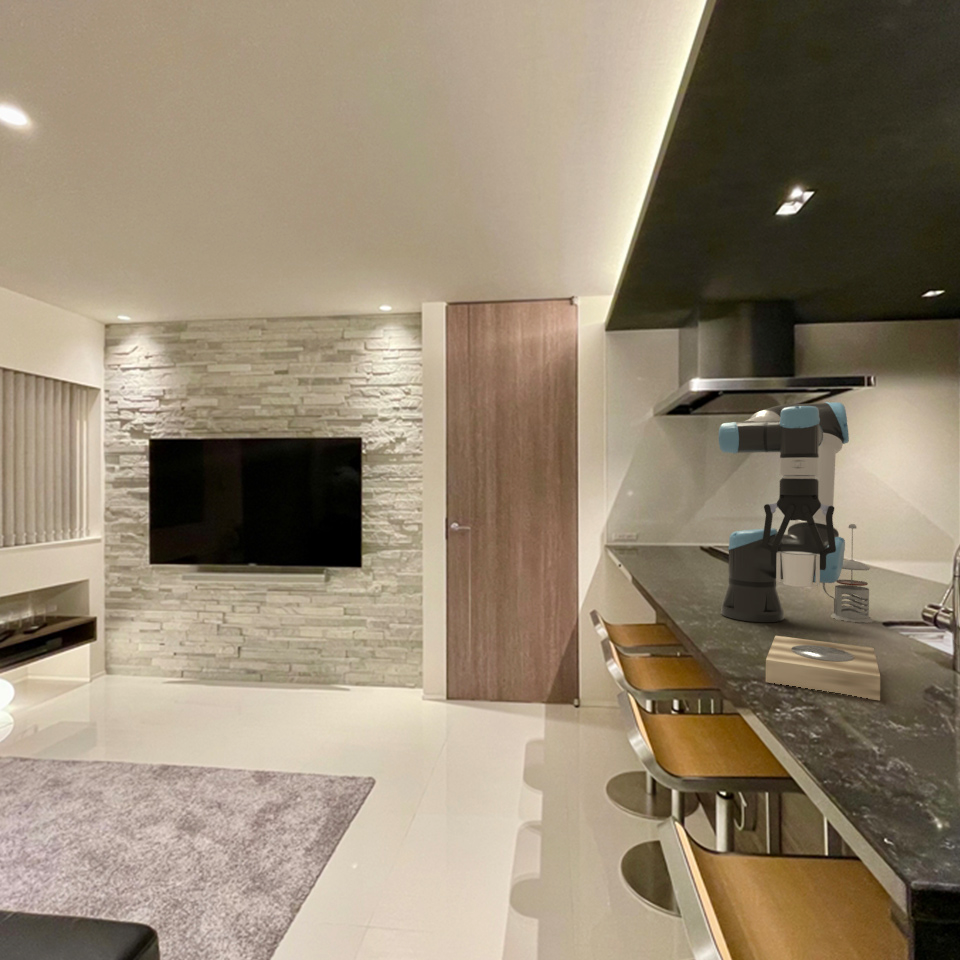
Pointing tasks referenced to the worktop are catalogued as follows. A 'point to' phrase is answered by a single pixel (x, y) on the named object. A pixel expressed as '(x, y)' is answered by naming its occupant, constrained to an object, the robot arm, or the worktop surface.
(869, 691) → the birch stand
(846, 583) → the french press
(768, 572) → the robot arm
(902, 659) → the worktop surface
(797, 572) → the tapered cream cylinder
